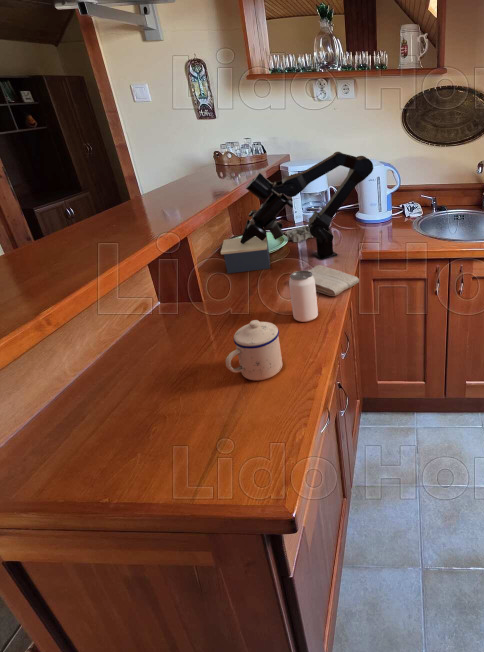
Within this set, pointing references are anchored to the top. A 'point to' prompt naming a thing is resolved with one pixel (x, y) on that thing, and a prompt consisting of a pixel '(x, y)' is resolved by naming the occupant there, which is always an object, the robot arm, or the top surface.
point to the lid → (243, 245)
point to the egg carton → (299, 234)
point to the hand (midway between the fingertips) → (241, 242)
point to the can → (303, 296)
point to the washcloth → (332, 280)
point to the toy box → (247, 261)
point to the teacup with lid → (257, 351)
